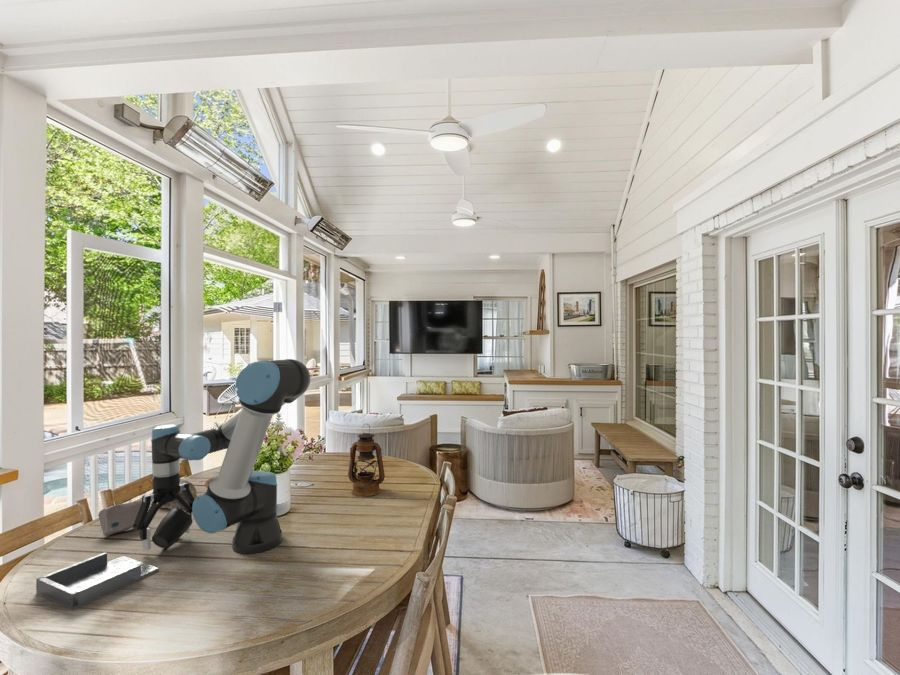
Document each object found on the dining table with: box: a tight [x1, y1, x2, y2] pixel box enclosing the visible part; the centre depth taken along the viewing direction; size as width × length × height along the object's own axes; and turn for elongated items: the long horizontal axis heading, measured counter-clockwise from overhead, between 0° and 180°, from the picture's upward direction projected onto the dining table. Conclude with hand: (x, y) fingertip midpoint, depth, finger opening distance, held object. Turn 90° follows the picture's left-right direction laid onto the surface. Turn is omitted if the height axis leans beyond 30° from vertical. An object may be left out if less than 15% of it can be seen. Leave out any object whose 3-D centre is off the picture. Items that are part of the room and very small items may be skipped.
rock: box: [157, 478, 198, 510], centre depth 181 cm, size 15×12×10 cm
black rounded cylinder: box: [151, 508, 193, 549], centre depth 144 cm, size 8×12×10 cm
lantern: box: [347, 423, 386, 497], centre depth 196 cm, size 17×13×30 cm
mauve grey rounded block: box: [97, 499, 142, 537], centre depth 156 cm, size 13×10×6 cm
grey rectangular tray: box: [35, 551, 160, 612], centre depth 123 cm, size 17×21×4 cm
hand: (167, 540), depth 144 cm, fingers open, 12 cm apart
